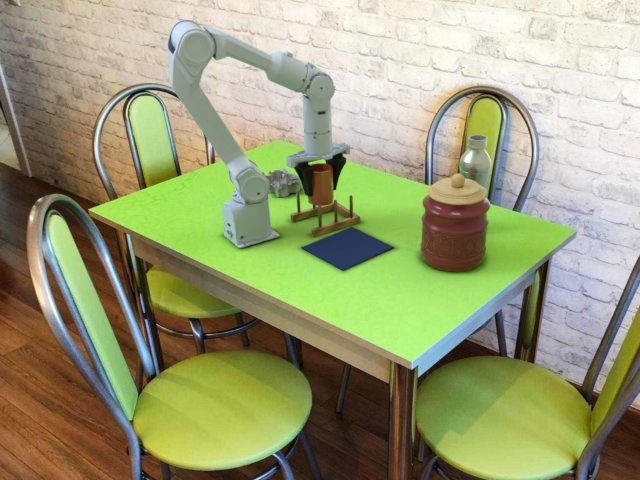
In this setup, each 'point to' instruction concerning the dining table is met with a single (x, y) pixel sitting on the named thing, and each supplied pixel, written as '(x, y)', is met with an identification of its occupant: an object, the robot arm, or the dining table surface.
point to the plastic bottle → (476, 160)
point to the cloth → (347, 248)
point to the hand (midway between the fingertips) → (320, 192)
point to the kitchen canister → (454, 224)
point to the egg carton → (283, 182)
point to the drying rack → (335, 206)
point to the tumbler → (322, 184)
